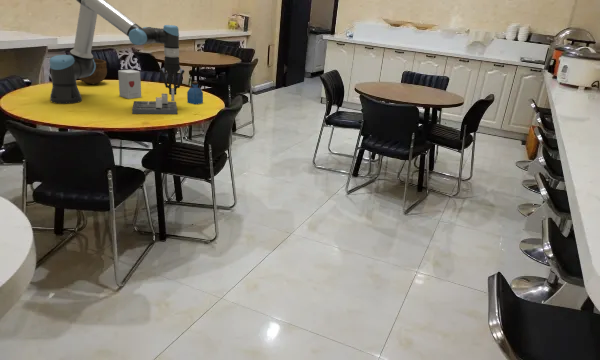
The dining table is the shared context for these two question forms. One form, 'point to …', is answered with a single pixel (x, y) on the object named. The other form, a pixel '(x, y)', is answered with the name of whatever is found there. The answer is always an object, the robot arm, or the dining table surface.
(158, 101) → the fader
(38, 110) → the dining table surface
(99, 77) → the bowl
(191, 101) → the perfume bottle
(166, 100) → the fader
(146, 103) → the console
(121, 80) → the supplement box
